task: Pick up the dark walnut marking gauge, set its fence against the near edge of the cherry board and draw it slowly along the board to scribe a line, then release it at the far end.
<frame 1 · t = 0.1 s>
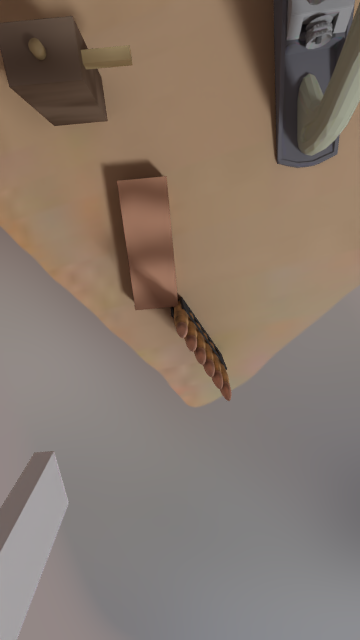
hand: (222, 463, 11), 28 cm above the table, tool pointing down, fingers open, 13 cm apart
ammunition clip: (196, 329, 40), on the table, touching board
board: (151, 246, 35), on the table
hand plane: (305, 1, 28), on the table
gauge: (77, 102, 30), on the table
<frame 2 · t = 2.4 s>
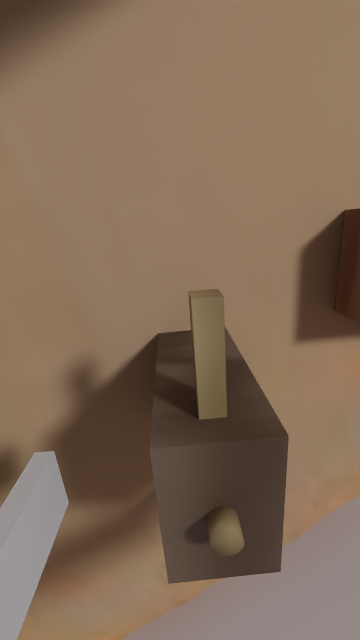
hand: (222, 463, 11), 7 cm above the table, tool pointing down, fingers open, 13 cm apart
gauge: (194, 374, 17), on the table
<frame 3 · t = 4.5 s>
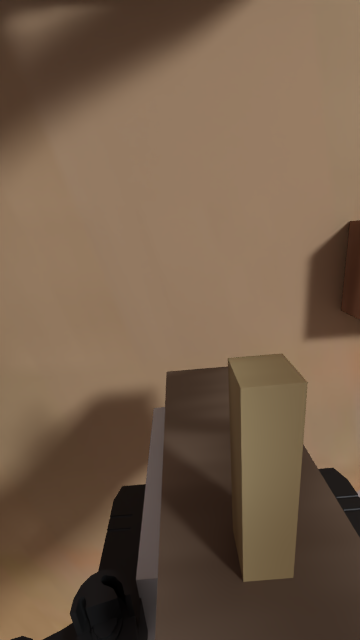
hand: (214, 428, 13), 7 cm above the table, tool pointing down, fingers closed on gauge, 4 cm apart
gauge: (213, 422, 13), point 6 cm above the table, touching gripper
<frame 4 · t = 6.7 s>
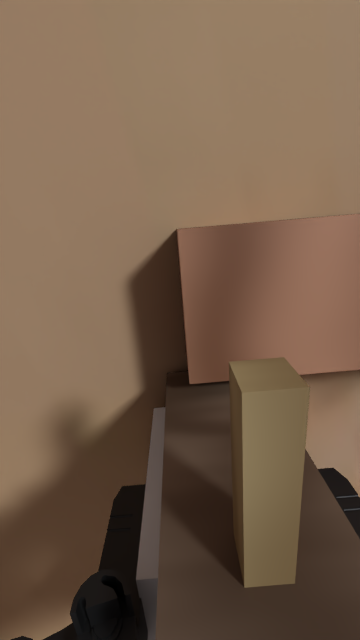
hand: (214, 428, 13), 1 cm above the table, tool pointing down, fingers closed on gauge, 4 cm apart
board: (356, 281, 12), on the table
gauge: (213, 424, 13), on the table, touching gripper
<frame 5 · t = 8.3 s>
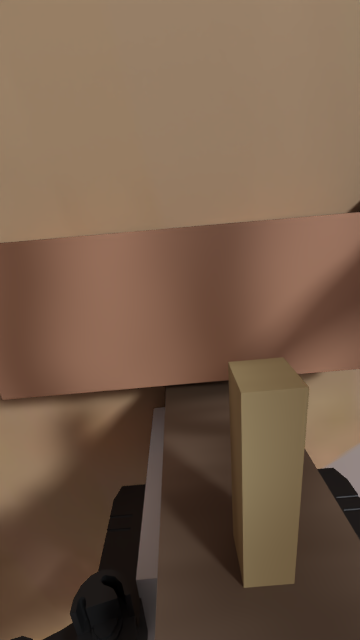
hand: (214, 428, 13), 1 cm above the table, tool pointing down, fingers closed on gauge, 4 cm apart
board: (193, 294, 12), on the table
gauge: (213, 424, 13), on the table, touching gripper
when the fingers open (0 cm above the table, at t = 9.5 s): gauge stays where it is, on the table.
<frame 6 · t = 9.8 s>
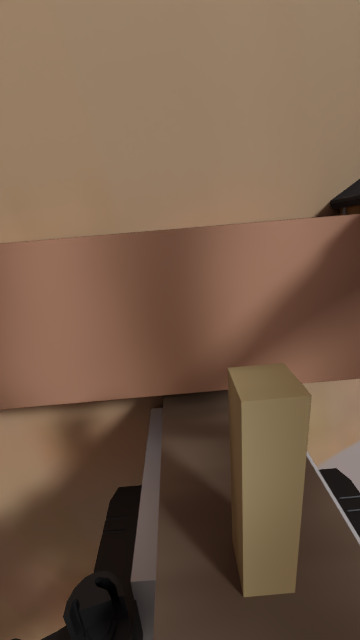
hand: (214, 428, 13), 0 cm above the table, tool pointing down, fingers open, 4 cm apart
board: (155, 302, 11), on the table
gauge: (211, 425, 13), on the table
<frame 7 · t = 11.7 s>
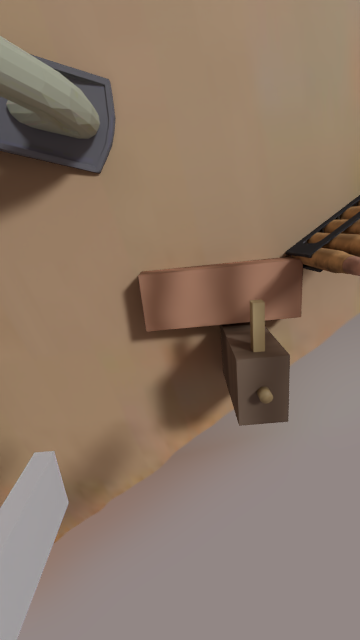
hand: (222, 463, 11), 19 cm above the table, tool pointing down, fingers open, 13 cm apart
ammunition clip: (334, 223, 27), on the table, touching board
board: (218, 291, 28), on the table
gauge: (239, 345, 30), on the table
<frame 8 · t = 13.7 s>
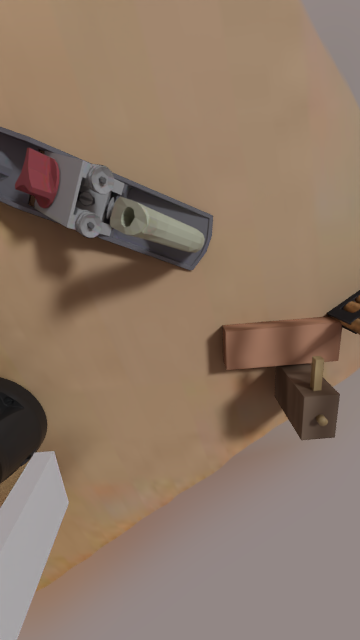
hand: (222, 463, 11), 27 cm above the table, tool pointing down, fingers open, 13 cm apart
board: (276, 339, 38), on the table
hand plane: (87, 198, 33), on the table
gauge: (288, 378, 41), on the table
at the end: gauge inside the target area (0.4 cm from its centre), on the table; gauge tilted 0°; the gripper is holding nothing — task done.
